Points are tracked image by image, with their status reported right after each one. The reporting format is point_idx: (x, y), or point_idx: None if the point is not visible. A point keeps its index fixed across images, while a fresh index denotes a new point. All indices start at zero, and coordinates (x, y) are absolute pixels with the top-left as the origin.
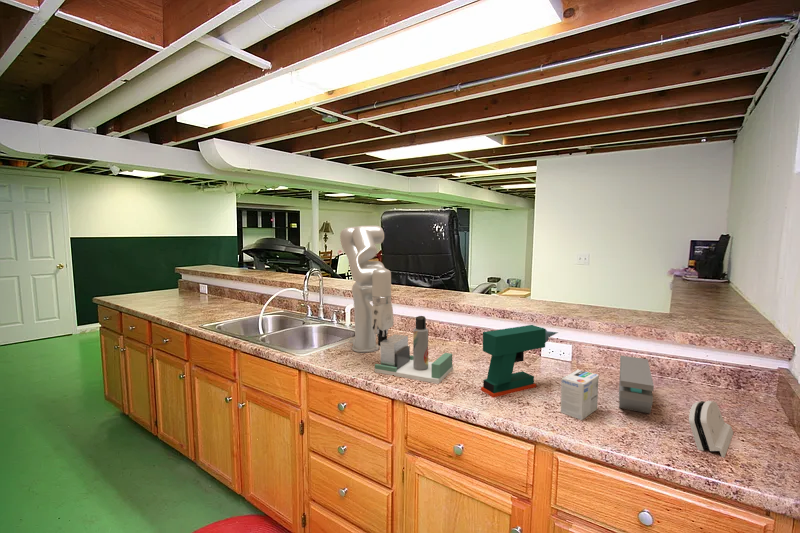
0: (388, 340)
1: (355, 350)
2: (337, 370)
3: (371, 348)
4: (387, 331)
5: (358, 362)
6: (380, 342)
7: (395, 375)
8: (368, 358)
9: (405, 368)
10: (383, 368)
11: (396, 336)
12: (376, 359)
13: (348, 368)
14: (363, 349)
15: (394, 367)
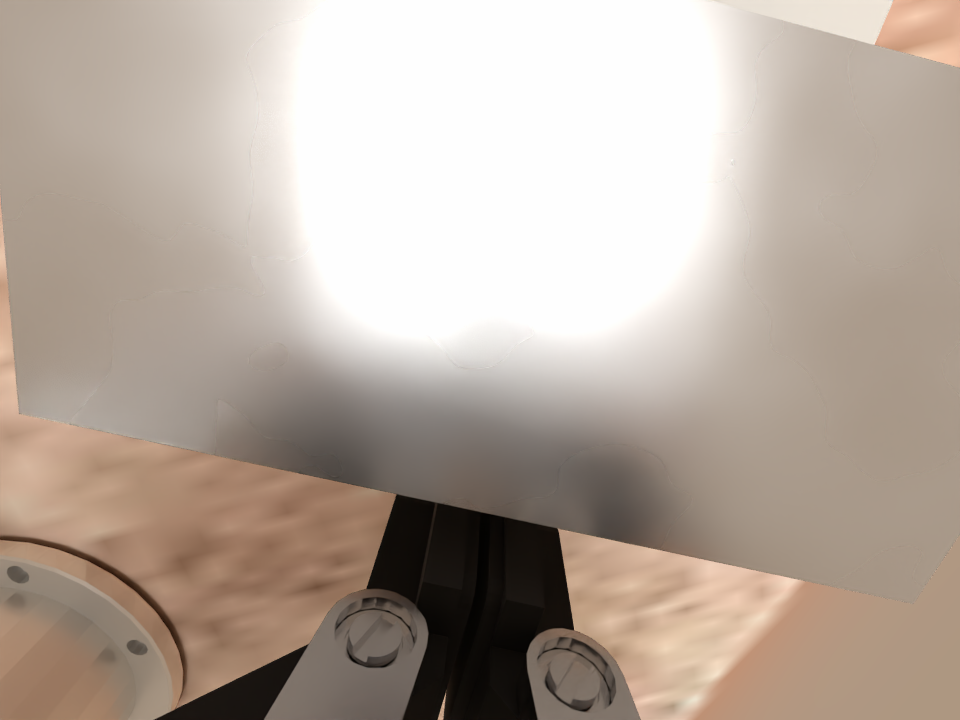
0: (762, 434)
1: (172, 710)
2: (676, 692)
3: (67, 606)
4: (297, 696)
5: None
6: (901, 588)
7: None
8: (309, 554)
9: None
10: None
11: (244, 296)
12: (311, 477)
13: (617, 634)
14: (136, 662)
15: None
